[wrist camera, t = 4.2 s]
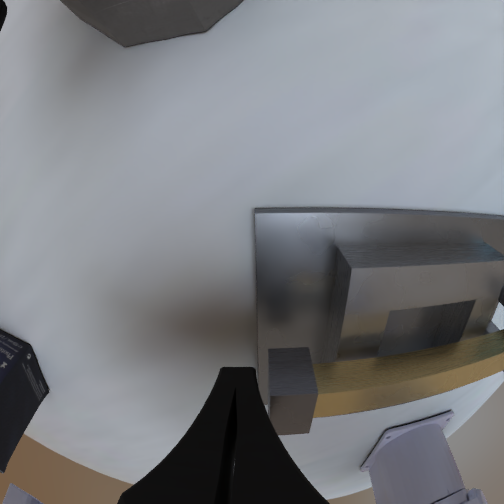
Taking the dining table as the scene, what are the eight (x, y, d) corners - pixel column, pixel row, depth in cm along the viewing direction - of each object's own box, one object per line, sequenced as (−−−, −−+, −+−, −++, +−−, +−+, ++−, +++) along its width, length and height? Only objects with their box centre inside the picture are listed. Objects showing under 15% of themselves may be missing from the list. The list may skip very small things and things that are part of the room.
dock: (461, 364, 16) (495, 420, 11) (258, 395, 17) (259, 479, 11) (514, 217, 12) (582, 258, 6) (254, 208, 12) (254, 281, 6)
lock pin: (509, 346, 12) (527, 369, 9) (267, 392, 12) (268, 435, 10) (526, 309, 10) (548, 332, 8) (268, 348, 11) (270, 396, 9)
